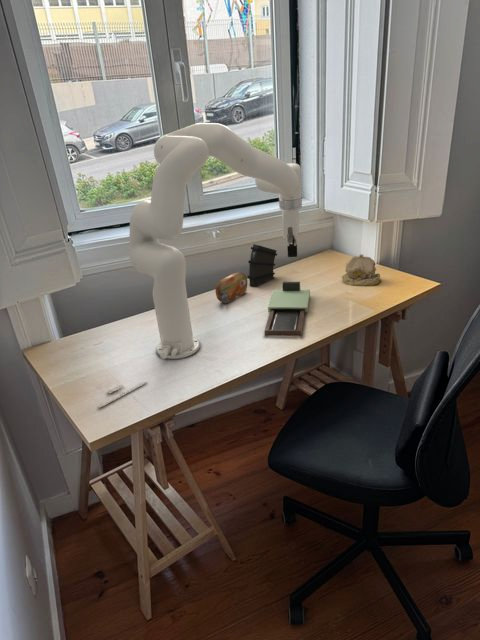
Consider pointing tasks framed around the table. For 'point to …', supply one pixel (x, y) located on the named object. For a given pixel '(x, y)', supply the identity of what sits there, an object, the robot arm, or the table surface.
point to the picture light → (116, 387)
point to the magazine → (261, 264)
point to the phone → (285, 321)
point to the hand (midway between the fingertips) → (292, 256)
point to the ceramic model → (361, 271)
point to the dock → (284, 332)
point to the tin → (231, 287)
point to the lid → (289, 297)
